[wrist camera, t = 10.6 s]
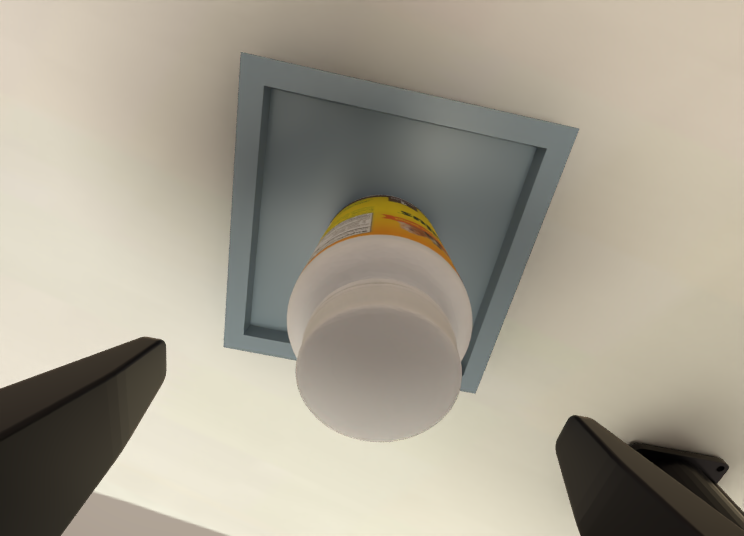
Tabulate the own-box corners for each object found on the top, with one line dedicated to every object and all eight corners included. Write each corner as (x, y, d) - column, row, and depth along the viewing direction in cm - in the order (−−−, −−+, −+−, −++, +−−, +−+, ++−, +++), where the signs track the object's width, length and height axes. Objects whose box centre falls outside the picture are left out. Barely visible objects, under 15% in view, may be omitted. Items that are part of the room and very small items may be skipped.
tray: (559, 128, 16) (579, 128, 15) (468, 372, 21) (475, 393, 20) (255, 60, 16) (240, 51, 14) (236, 329, 21) (223, 346, 19)
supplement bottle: (453, 270, 18) (532, 426, 9) (357, 313, 19) (333, 493, 10) (407, 169, 16) (441, 226, 7) (304, 223, 17) (211, 335, 8)
